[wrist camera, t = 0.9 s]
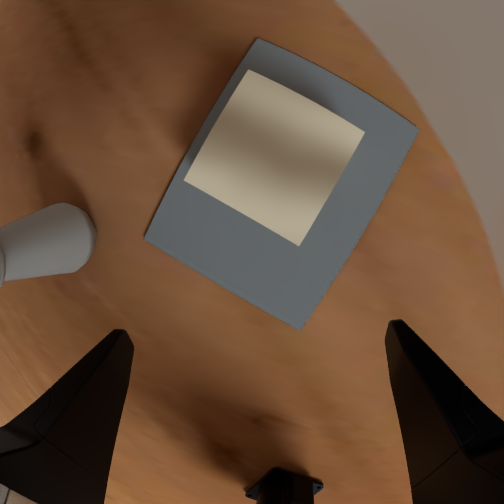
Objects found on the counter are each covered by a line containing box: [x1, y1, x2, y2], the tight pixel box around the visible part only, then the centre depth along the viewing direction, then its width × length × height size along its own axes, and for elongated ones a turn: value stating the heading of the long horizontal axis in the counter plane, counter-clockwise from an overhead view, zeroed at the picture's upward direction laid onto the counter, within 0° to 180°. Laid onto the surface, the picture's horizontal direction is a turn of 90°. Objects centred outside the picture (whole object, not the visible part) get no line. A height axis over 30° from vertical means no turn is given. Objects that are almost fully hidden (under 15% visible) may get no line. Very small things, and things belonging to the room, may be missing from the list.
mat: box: [144, 38, 419, 330], centre depth 22 cm, size 18×14×1 cm
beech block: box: [184, 69, 365, 246], centre depth 20 cm, size 8×8×4 cm
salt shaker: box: [0, 202, 97, 288], centre depth 19 cm, size 6×6×13 cm
